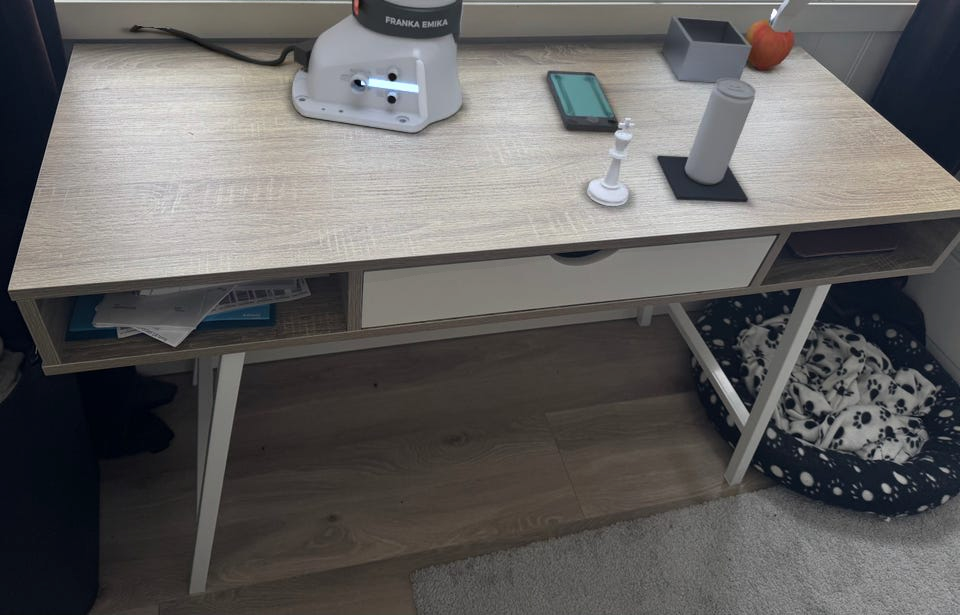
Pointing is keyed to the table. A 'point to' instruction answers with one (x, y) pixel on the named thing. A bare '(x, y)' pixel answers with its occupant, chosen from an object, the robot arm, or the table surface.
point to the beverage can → (719, 130)
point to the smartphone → (581, 101)
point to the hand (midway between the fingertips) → (760, 10)
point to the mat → (695, 191)
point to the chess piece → (613, 172)
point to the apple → (768, 45)
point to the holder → (705, 49)
